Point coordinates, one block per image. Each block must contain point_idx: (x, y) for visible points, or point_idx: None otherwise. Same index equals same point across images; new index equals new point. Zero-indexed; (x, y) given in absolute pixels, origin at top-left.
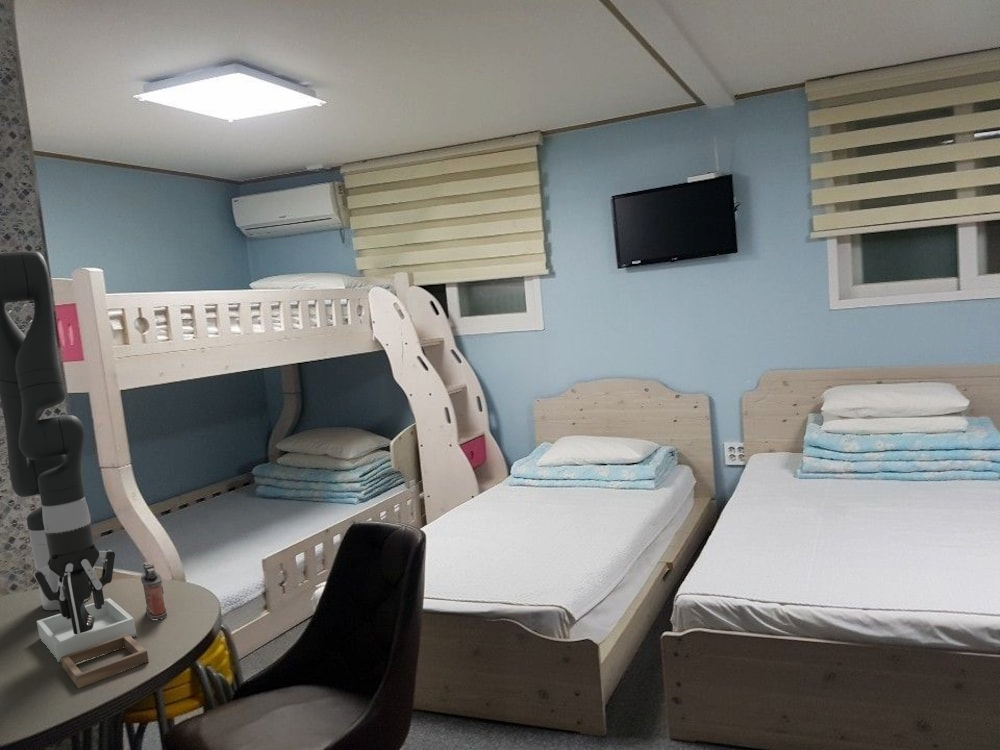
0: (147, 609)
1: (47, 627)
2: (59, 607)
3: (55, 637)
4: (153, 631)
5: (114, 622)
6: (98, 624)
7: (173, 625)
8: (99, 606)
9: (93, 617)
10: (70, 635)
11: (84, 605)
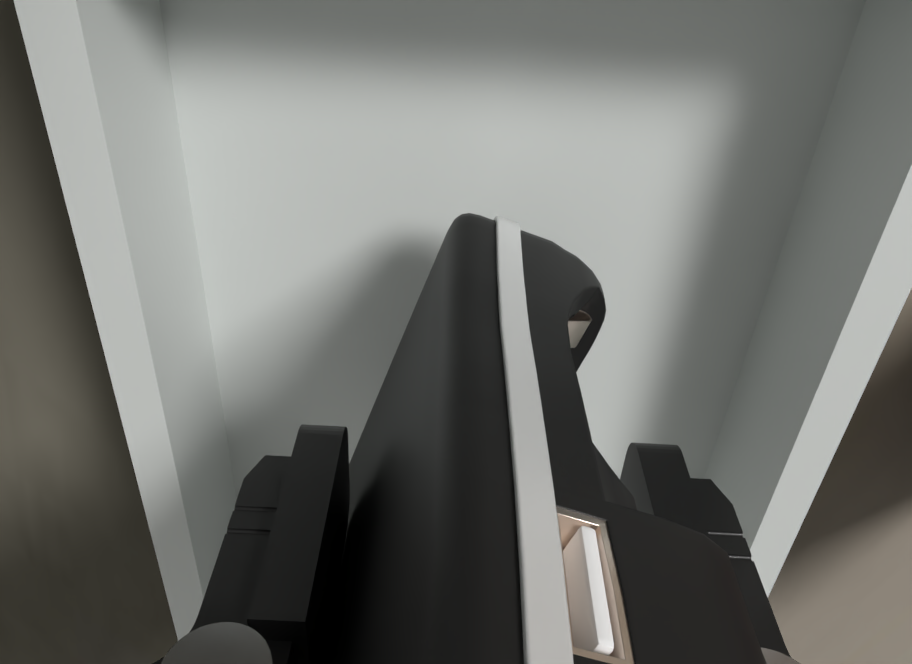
0: None
1: (132, 279)
2: (224, 539)
3: (189, 553)
4: (792, 572)
5: (749, 272)
6: (645, 182)
7: (909, 590)
8: None
9: (594, 325)
10: (369, 207)
11: (566, 343)
